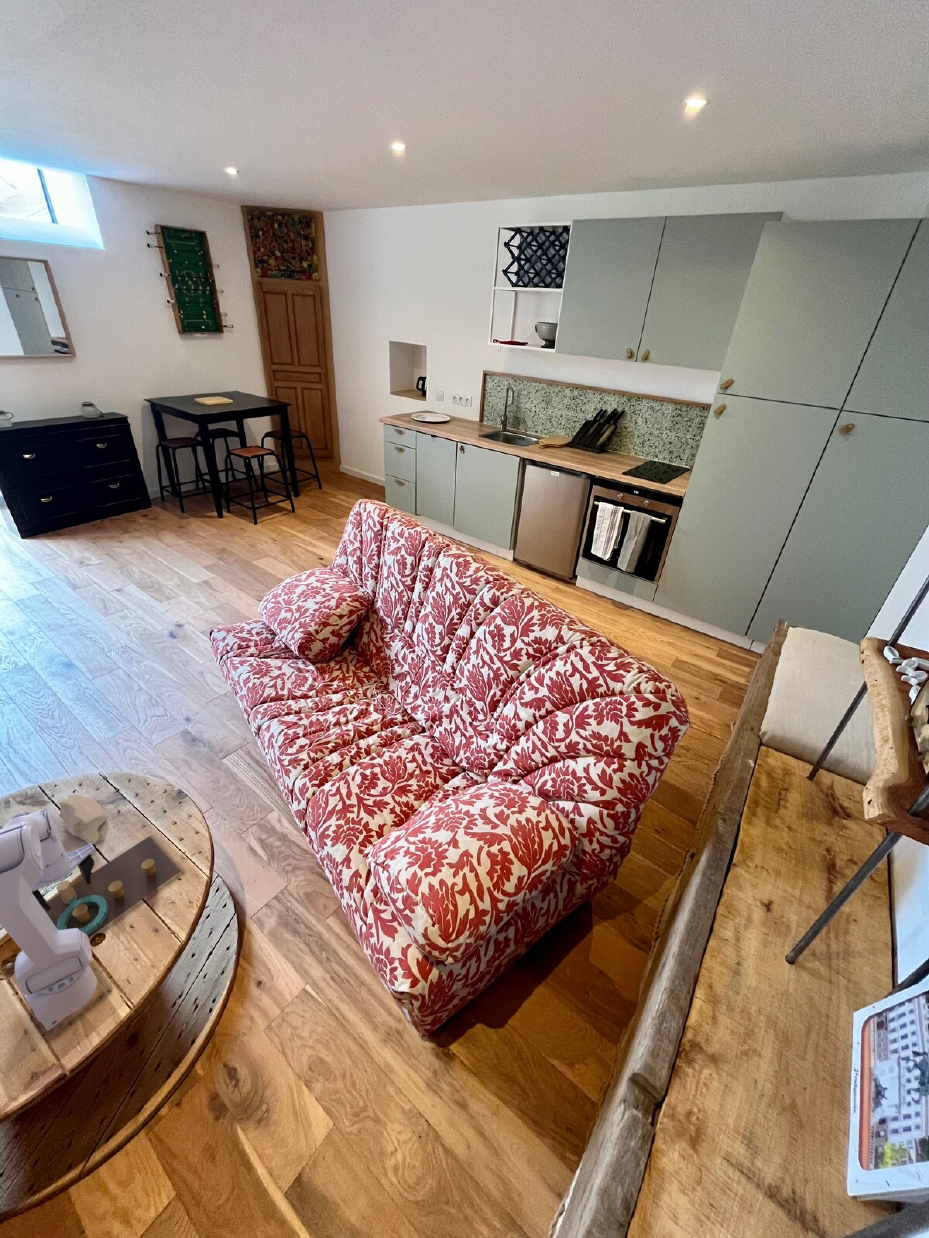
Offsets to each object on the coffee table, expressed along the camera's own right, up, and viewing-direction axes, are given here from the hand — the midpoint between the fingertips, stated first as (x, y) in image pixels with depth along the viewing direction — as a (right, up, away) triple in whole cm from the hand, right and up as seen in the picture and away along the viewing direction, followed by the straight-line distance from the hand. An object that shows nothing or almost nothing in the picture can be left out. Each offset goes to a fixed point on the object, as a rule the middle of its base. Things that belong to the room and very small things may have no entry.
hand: (68, 893), depth 112 cm
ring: (+4, -3, -2) cm, 5 cm away
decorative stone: (-9, +8, +18) cm, 22 cm away
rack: (+8, -1, +4) cm, 9 cm away
